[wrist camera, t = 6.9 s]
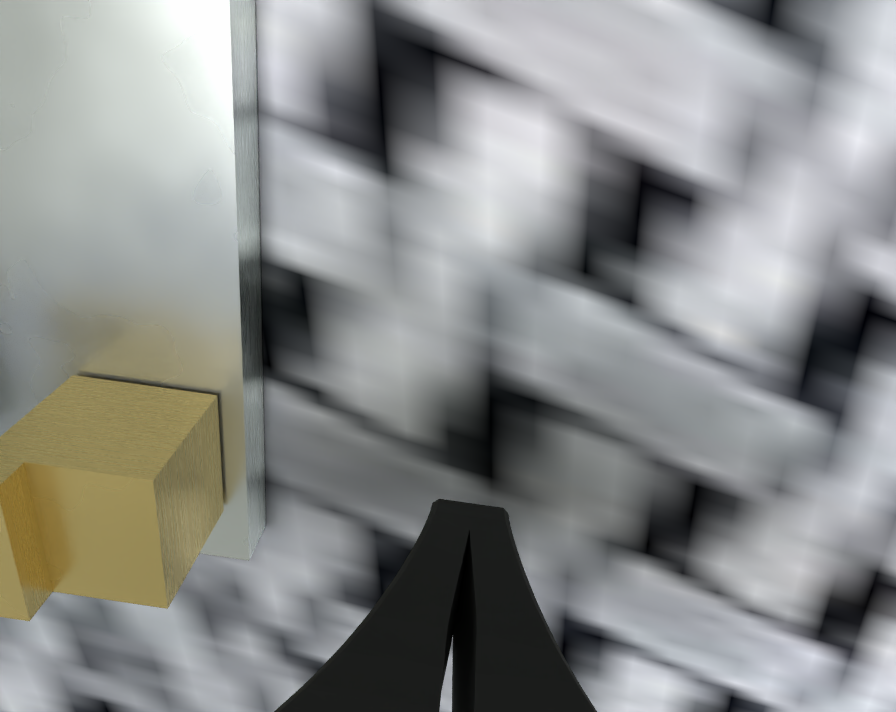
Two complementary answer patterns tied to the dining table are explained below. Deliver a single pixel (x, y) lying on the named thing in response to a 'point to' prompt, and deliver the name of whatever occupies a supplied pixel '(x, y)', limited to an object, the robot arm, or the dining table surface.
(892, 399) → the dining table surface
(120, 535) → the block
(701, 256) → the dining table surface
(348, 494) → the dining table surface
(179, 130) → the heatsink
